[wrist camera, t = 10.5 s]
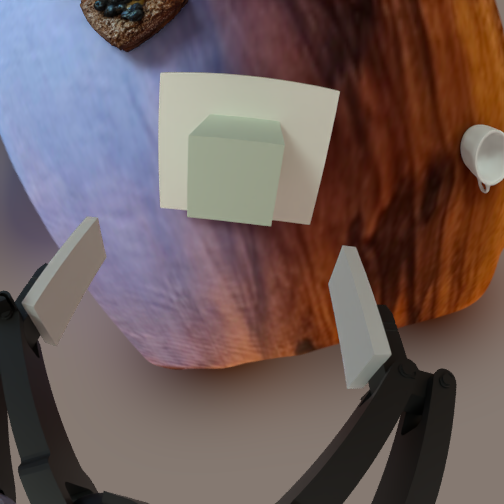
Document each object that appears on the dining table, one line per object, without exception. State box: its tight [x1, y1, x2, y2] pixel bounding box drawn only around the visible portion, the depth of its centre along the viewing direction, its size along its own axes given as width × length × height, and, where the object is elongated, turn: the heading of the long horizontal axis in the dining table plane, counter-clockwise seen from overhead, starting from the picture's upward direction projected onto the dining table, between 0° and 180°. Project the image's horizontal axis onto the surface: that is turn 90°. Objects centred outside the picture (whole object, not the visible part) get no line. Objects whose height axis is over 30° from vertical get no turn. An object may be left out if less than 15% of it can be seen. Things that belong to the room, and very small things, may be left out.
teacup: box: [460, 125, 504, 193], centre depth 28 cm, size 10×8×5 cm
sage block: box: [187, 114, 285, 226], centre depth 25 cm, size 7×7×9 cm
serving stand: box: [159, 72, 340, 225], centre depth 31 cm, size 16×18×4 cm
